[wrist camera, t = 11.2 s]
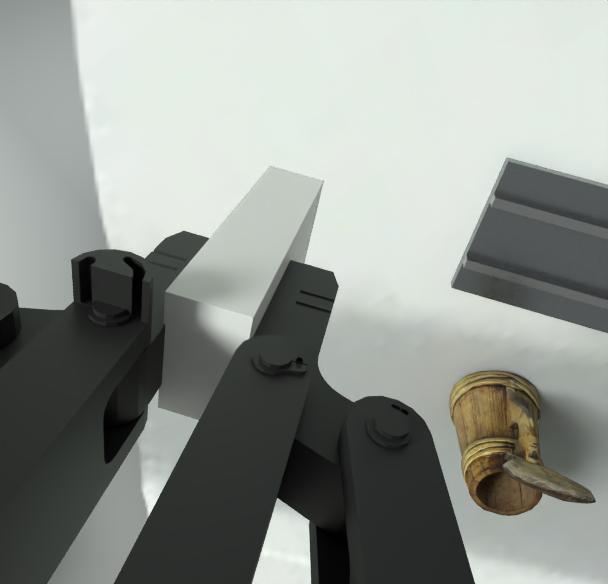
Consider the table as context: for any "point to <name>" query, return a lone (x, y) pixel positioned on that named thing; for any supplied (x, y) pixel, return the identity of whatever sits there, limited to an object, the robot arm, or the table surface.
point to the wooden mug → (505, 445)
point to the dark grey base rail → (542, 245)
